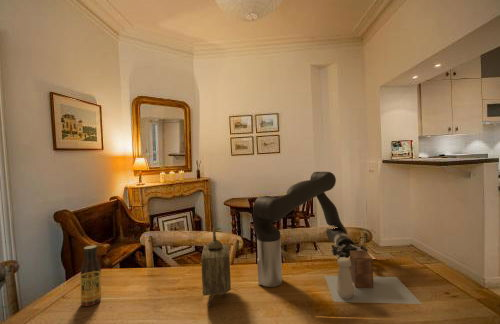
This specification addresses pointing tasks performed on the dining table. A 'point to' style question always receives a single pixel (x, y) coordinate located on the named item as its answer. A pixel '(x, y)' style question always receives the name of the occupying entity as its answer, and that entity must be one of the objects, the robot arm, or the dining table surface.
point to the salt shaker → (344, 279)
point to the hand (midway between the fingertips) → (353, 257)
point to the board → (376, 292)
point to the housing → (361, 269)
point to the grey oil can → (215, 269)
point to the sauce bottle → (90, 277)
